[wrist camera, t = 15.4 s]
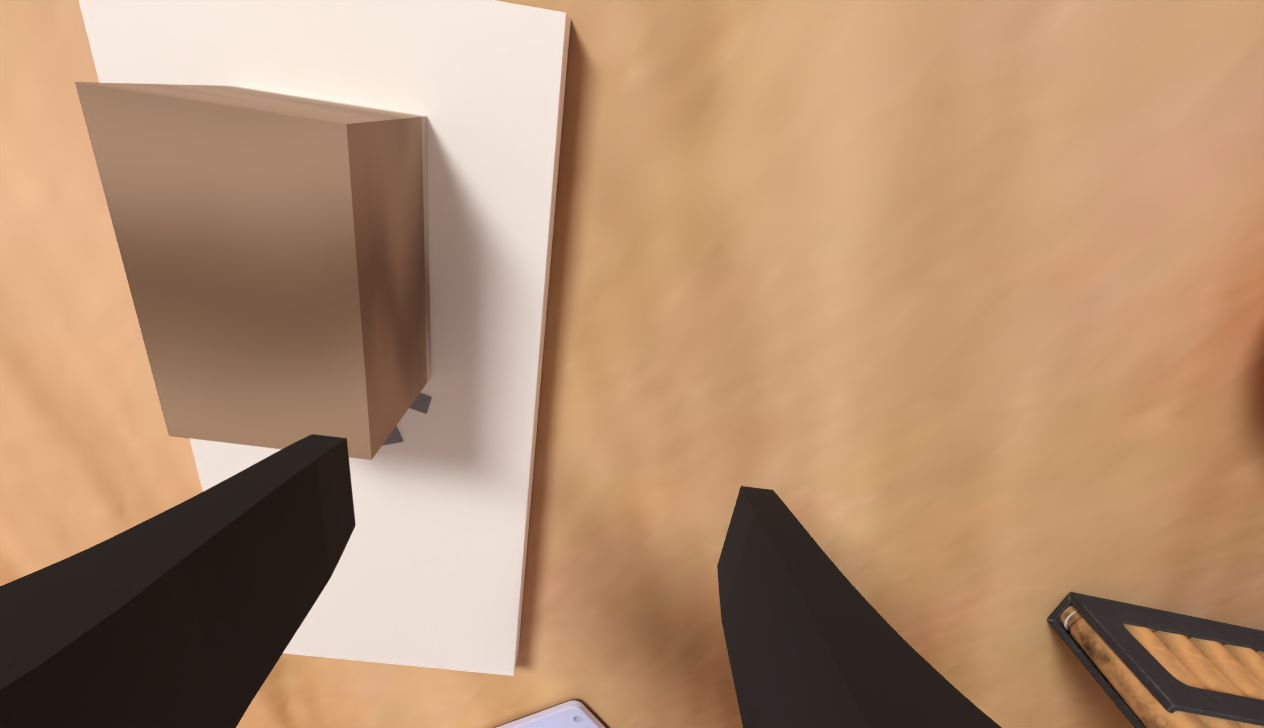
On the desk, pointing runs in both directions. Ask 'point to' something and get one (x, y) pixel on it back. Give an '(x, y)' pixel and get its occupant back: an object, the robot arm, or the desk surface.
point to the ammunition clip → (1167, 663)
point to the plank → (459, 291)
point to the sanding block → (270, 257)
